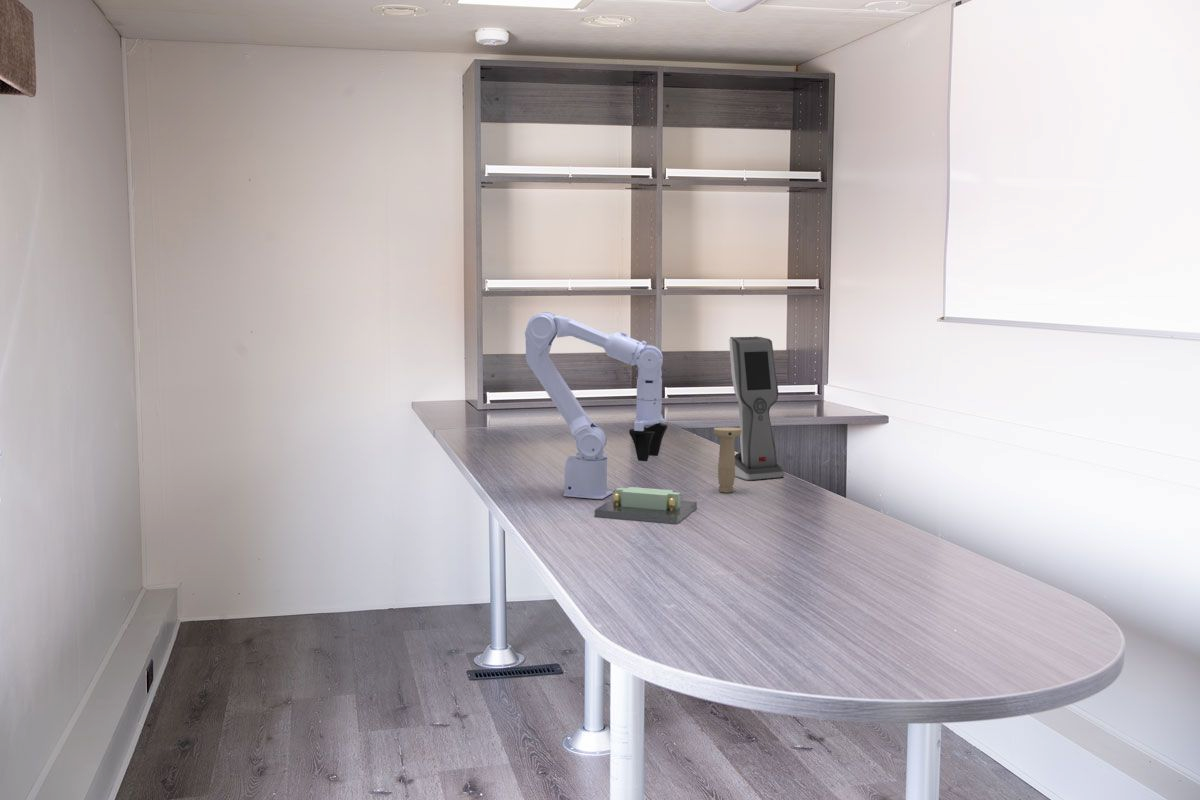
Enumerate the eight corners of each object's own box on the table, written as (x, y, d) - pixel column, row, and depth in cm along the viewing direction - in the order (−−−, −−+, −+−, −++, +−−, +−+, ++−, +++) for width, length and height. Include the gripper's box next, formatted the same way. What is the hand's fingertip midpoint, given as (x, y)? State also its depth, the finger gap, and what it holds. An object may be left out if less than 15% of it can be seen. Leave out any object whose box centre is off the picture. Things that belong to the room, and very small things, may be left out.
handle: (741, 493, 256) (743, 430, 255) (714, 494, 256) (716, 430, 254) (736, 489, 261) (738, 427, 259) (710, 490, 260) (711, 427, 259)
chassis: (594, 516, 231) (594, 498, 231) (618, 501, 246) (618, 484, 246) (677, 524, 225) (677, 505, 225) (696, 508, 240) (696, 490, 240)
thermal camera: (757, 469, 288) (761, 336, 284) (786, 477, 277) (791, 339, 273) (720, 472, 283) (723, 337, 279) (747, 481, 272) (751, 340, 267)
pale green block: (612, 505, 235) (612, 490, 235) (620, 500, 241) (620, 486, 240) (675, 511, 231) (675, 496, 230) (682, 505, 236) (682, 491, 236)
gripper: (656, 403, 241) (654, 464, 242) (675, 396, 254) (674, 454, 256) (625, 401, 243) (624, 462, 245) (646, 395, 257) (645, 452, 258)
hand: (648, 458), depth 251 cm, fingers open, 7 cm apart
